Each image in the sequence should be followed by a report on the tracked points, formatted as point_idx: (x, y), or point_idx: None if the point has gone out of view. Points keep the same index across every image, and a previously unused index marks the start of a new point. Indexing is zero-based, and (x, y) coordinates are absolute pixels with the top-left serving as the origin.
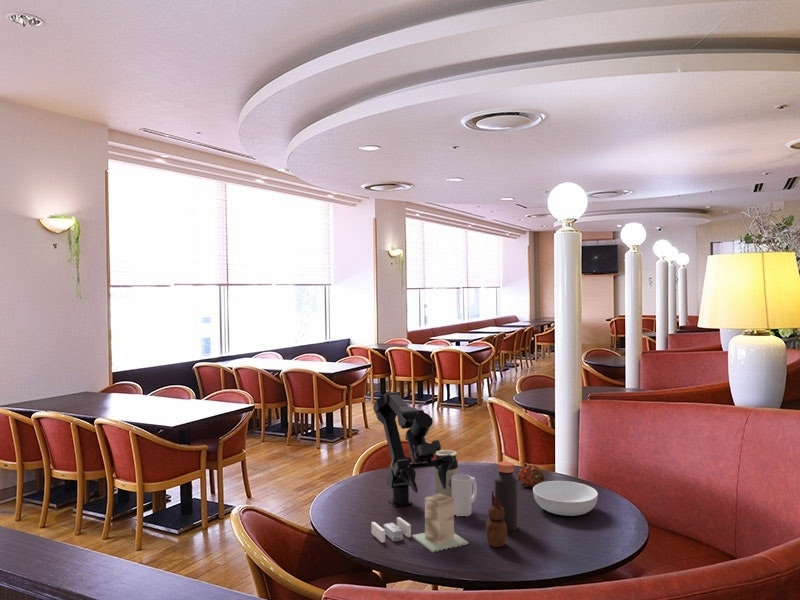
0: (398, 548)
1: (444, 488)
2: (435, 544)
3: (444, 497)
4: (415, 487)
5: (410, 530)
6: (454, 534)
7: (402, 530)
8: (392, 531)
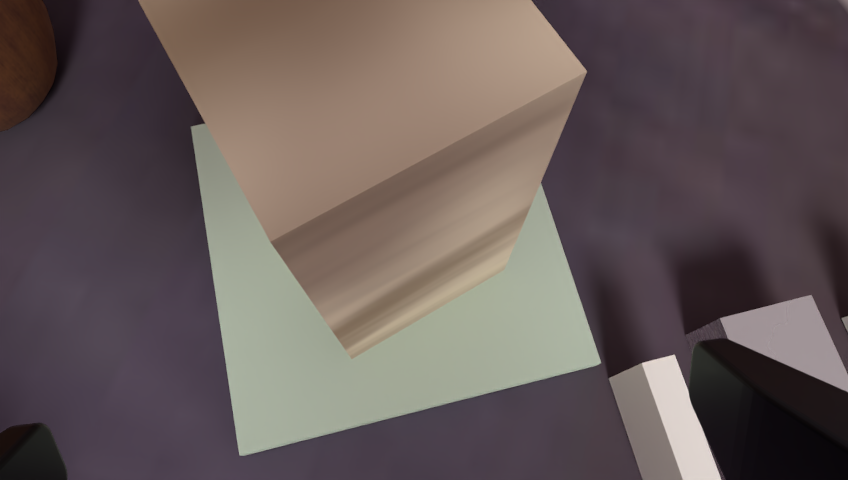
0: (733, 183)
1: (52, 442)
2: None
3: (255, 23)
4: (776, 371)
5: (628, 370)
6: (233, 290)
7: (722, 319)
8: (821, 321)
